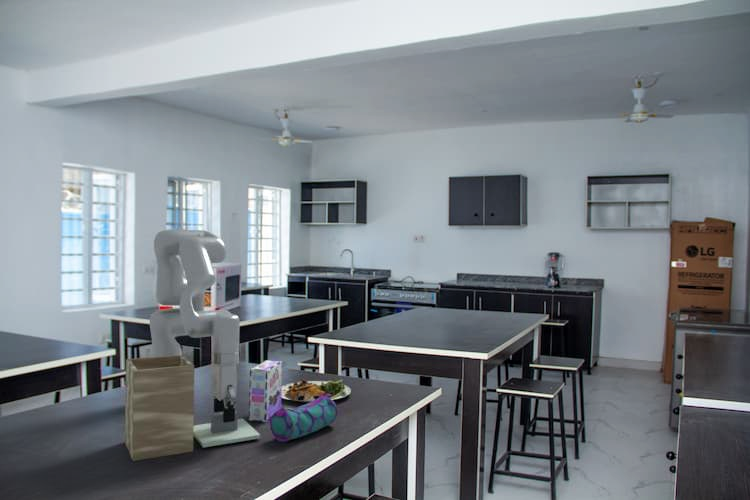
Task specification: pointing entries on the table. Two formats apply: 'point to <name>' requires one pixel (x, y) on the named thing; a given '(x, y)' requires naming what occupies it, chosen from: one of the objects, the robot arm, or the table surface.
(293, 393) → the plate of food
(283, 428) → the pencil case
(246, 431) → the lid
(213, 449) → the table surface
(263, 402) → the candy box
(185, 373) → the crate
